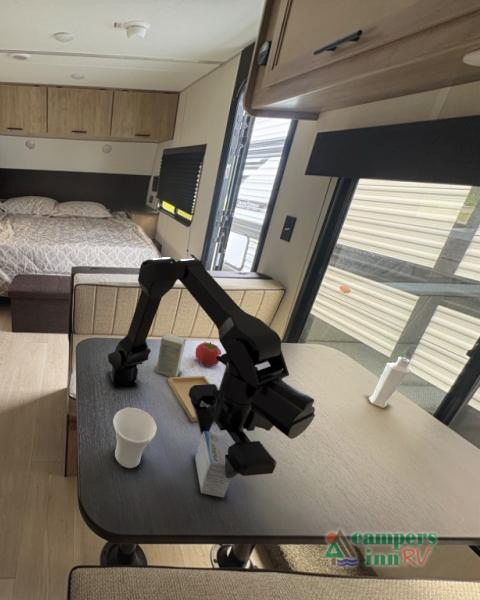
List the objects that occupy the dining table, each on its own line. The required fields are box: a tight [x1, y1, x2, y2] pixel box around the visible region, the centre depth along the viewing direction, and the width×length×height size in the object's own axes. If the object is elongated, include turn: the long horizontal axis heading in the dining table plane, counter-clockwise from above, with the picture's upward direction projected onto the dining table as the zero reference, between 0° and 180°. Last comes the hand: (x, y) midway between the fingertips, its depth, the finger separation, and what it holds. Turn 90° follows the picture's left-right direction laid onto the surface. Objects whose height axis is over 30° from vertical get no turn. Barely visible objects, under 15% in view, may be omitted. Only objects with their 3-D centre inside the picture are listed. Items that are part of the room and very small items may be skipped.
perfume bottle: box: [368, 356, 412, 409], centre depth 82 cm, size 5×4×15 cm
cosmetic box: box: [155, 332, 187, 378], centre depth 91 cm, size 6×4×12 cm
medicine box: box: [194, 431, 232, 498], centre depth 60 cm, size 8×4×9 cm, turn 168°
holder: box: [167, 375, 211, 423], centre depth 83 cm, size 11×15×2 cm
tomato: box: [195, 341, 222, 367], centre depth 97 cm, size 8×8×8 cm
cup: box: [112, 407, 158, 469], centre depth 63 cm, size 9×9×10 cm
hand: (215, 454), depth 59 cm, fingers open, 9 cm apart
